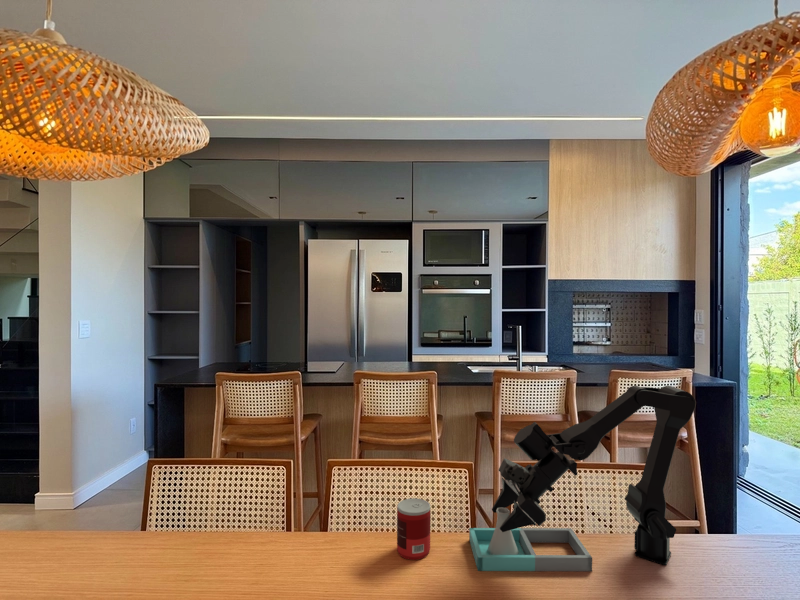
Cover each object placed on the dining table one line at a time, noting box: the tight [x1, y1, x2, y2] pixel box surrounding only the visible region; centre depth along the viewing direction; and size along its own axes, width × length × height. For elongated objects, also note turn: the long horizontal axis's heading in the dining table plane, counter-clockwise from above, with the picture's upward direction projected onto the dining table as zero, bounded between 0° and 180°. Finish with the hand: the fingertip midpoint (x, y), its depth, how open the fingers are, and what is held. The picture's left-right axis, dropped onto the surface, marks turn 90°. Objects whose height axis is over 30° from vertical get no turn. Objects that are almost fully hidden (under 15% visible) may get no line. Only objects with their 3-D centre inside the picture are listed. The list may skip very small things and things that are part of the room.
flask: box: [487, 507, 519, 555], centre depth 112 cm, size 7×7×10 cm
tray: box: [468, 527, 593, 572], centre depth 112 cm, size 25×13×3 cm, turn 90°
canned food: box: [396, 498, 431, 561], centre depth 113 cm, size 8×8×11 cm
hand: (496, 520), depth 112 cm, fingers open, 9 cm apart
